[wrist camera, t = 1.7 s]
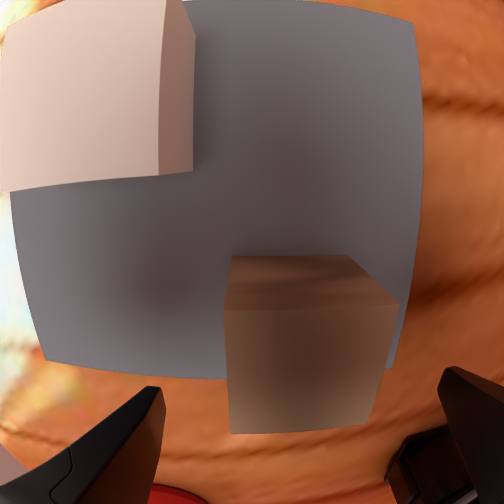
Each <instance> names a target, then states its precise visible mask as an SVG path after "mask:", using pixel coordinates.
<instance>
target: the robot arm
mask: <svg viewBox="0 0 504 504" xmlns="http://www.w3.org/2000/svg"><path fill="white" fill-rule="evenodd" d="M437 391H438V395H439V398H440V401H441V404H442V407H443V409H444V412H445V415H446V418H447V421H448V424H449V425H448V426H445V427H442V428H439V429H436V430H432V431H429V432H426V433H422V434H419V435H415V436H412V437H409V438H408V439H406V440H405V442H404V443H403V445H402V447H401V449H400V451H399V453H398V455H397V457H396V459H395V460H394V462H393V464H392V466H391V467H390V469H389V471H388V473H387V474H386V476H385V478H384V481H385V483H390V486H391V488H392V491H393V494H394V496H395V499H396V502H397V504H504V387H503V386H501V385H498V384H496V383H494V382H492V381H489V380H487V379H485V378H482V377H480V376H478V375H476V374H473V373H471V372H469V371H466V370H464V369H462V368H460V367H457V366H452V367H448V368H446V369H445V370H444V372H443V375H442V377H441V380H440V382H439V385H438V388H437ZM165 416H166V406H165V402H164V397H163V393H162V390H161V388H160V387H156V386H146V387H145V388H144V389H142V390H141V391H140V392H139V393H137V394H136V395H135V396H134V397H132V398H131V399H130V400H128V401H127V402H126V403H125V404H123V405H122V406H121V407H119V408H118V409H117V410H116V411H114V412H113V413H112V414H110V415H109V416H108V417H107V418H105V419H104V420H103V421H101V422H100V423H99V424H97V425H96V426H95V427H93V428H92V429H91V430H89V431H88V432H87V433H86V434H84V435H83V436H82V437H80V438H79V439H77V440H76V441H75V442H73V443H72V444H71V445H70V446H69V447H70V448H69V447H67V448H65V449H64V450H62V451H61V452H60V453H58V454H57V455H55V456H54V457H52V458H51V459H49V460H48V461H46V462H45V463H43V464H41V465H40V466H38V467H36V468H35V469H33V470H31V471H29V472H27V473H25V474H24V475H22V476H20V477H18V478H16V479H14V480H12V481H10V482H8V483H6V484H4V485H1V486H0V504H147V503H148V499H149V496H150V492H151V488H152V484H153V480H154V476H155V473H156V469H157V465H158V461H159V457H160V452H161V445H162V437H163V430H164V423H165Z"/></svg>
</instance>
